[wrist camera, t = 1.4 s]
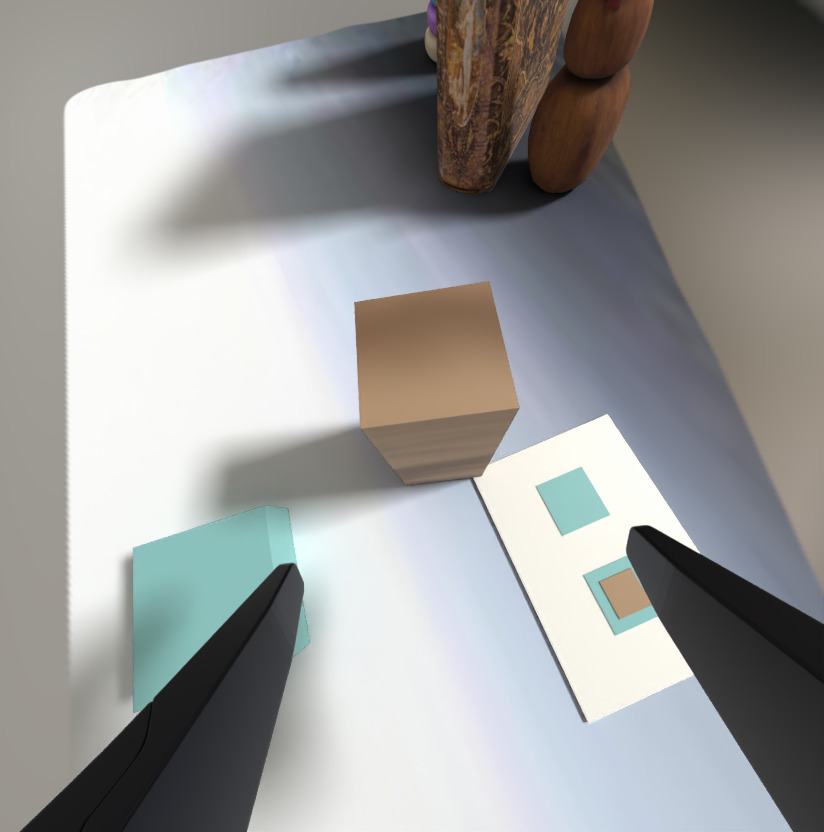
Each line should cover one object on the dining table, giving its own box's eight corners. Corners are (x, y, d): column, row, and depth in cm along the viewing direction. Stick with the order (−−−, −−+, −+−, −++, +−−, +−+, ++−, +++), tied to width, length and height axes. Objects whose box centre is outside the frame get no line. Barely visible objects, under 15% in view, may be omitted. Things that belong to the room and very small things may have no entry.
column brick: (481, 476, 21) (519, 407, 10) (405, 485, 21) (360, 428, 10) (469, 406, 23) (489, 281, 12) (399, 415, 23) (354, 302, 12)
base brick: (309, 642, 19) (286, 662, 16) (179, 685, 19) (133, 713, 16) (287, 508, 22) (264, 505, 19) (173, 545, 22) (133, 547, 19)
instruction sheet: (757, 643, 17) (762, 644, 17) (587, 722, 17) (590, 725, 17) (606, 414, 22) (608, 413, 22) (470, 472, 21) (470, 471, 21)
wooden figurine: (562, 215, 28) (685, -107, 14) (508, 186, 29) (567, -128, 15) (608, 169, 29) (764, -170, 15) (553, 144, 31) (646, -182, 17)
